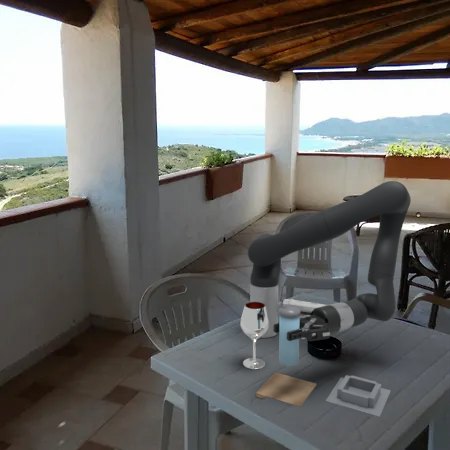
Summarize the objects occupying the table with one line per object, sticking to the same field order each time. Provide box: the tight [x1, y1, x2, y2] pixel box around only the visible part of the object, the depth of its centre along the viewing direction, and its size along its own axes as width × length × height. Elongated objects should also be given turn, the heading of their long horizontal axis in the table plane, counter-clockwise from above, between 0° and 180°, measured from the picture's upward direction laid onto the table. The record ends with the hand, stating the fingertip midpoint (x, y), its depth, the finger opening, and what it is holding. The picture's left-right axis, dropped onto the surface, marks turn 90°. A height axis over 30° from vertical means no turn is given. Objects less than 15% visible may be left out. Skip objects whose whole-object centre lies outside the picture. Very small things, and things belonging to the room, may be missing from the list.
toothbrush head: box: [280, 298, 327, 313], centre depth 171 cm, size 5×7×25 cm
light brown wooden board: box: [255, 371, 317, 408], centre depth 121 cm, size 12×12×1 cm
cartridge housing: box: [325, 374, 392, 418], centre depth 117 cm, size 13×13×4 cm
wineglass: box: [240, 301, 269, 370], centre depth 134 cm, size 8×8×18 cm
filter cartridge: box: [278, 305, 302, 367], centre depth 118 cm, size 5×5×14 cm
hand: (281, 332), depth 116 cm, fingers closed on filter cartridge, 5 cm apart
